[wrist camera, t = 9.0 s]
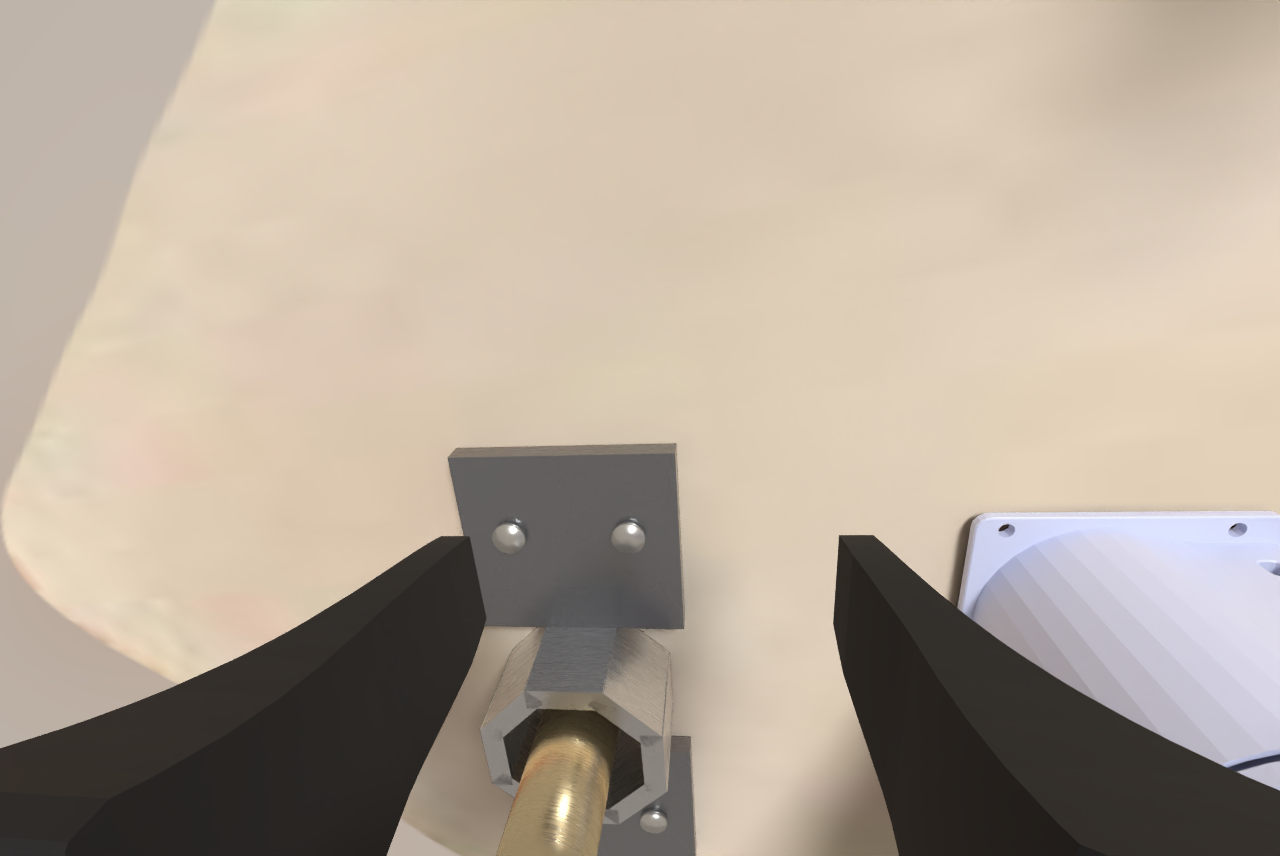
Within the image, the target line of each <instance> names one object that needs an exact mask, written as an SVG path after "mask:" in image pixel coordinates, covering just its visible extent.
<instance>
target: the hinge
mask: <svg viewBox="0 0 1280 856" xmlns="http://www.w3.org/2000/svg"><path fill="white" fill-rule="evenodd" d="M448 462H449V467H450V472H451V477H452V481H453V486H454V491H455V496H456V500H457V505H458V510H459V515H460V519H461V524H462V529H463V534H464V536H470V540H471V545H472V550H473V555H474V560H475V565H476V569H477V574H478V579H479V584H480V589H481V594H482V599H483V604H484V608H485V613H486V618H487V619H486V622H485V625H484V626H524V627H537V628H536V629H535V630H534V631H533V632H531V633H530V634H529V635H528V636H527V637H526V638H525V639H524V640H523V641H522V642H521V643H520V644H519V645H518V646H516V647H515V648H514V649H513V650H512V652H511V655H510V657H509V660H508V662H507V665H506V667H505V669H504V672H503V674H502V677H501V679H500V682H499V684H498V686H497V689H496V691H495V694H494V696H493V699H492V701H491V704H490V706H489V708H488V711H487V713H486V716H485V718H484V721H483V723H482V725H481V728H480V732H481V737H482V741H483V745H484V750H485V754H486V758H487V763H488V767H489V771H490V776H491V780H492V784H494V785H496V786H497V787H499V788H500V789H502V790H503V791H505V792H506V793H508V794H509V795H511V796H512V797H514V798H515V796H516V793H517V790H518V787H519V784H520V781H521V777H522V774H523V771H524V768H525V765H526V762H527V759H528V756H529V753H530V750H531V747H532V744H533V741H534V738H535V734H536V731H537V728H538V725H539V722H540V719H541V716H542V713H543V710H544V709H563V710H593V711H597V712H598V713H600V714H601V715H602V716H604V717H605V718H606V719H608V720H609V721H611V722H612V723H613V724H615V725H616V726H618V727H619V733H618V739H617V745H616V750H615V756H614V762H613V768H612V773H611V779H610V785H609V790H608V796H607V802H606V807H605V813H604V819H603V824H602V830H601V836H600V841H599V847H598V853H597V856H696V832H695V812H694V792H693V772H692V752H691V737H679V736H671V729H672V713H673V701H672V685H671V670H670V653H669V652H667V651H666V650H665V649H664V648H662V647H661V646H660V645H658V644H657V643H656V642H654V641H653V640H652V639H651V638H649V637H648V636H647V635H645V634H644V633H643V632H641V631H640V630H639V629H637V628H648V629H684V620H685V610H684V590H683V570H682V550H681V530H680V509H679V489H678V469H677V449H676V444H634V445H586V446H539V447H491V448H456V449H455V450H454V451H453V452H452V453H451V454H450V456H449V457H448Z"/></svg>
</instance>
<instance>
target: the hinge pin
mask: <svg viewBox="0 0 1280 856" xmlns="http://www.w3.org/2000/svg"><path fill="white" fill-rule="evenodd" d="M618 733H619V727H618V726H616V725H615V724H613V723H612V722H611V721H609V720H608V719H606V718H605V717H604V716H602V715H601V714H600V713H598V712H597V711H593V710H563V709H544V710H543V713H542V716H541V719H540V722H539V725H538V728H537V731H536V734H535V738H534V741H533V744H532V747H531V750H530V753H529V756H528V759H527V762H526V765H525V768H524V771H523V774H522V777H521V781H520V784H519V787H518V790H517V793H516V796H515V799H514V802H513V805H512V808H511V811H510V814H509V817H508V820H507V824H506V827H505V830H504V833H503V836H502V839H501V842H500V845H499V848H498V851H497V854H496V856H597V853H598V847H599V841H600V836H601V830H602V824H603V819H604V813H605V807H606V802H607V796H608V790H609V785H610V779H611V773H612V768H613V762H614V756H615V750H616V745H617V739H618Z"/></svg>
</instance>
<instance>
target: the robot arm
mask: <svg viewBox="0 0 1280 856" xmlns="http://www.w3.org/2000/svg"><path fill="white" fill-rule="evenodd" d="M1005 524H1010V525H1009V527H1008V528H1007V529H1006V530H1004V531H998V530H999V528H1000V527H1001V526H1003V525H1005ZM1234 524H1236V526H1235V527H1234V528H1232V529H1231V530H1229V529H1230V527H1231V526H1233V525H1234ZM486 619H487V618H486V613H485V608H484V604H483V599H482V594H481V589H480V584H479V579H478V574H477V569H476V565H475V560H474V555H473V550H472V545H471V540H470V536H441V537H439V538H437V539H435V540H433V541H432V542H430V543H428V544H427V545H425V546H423V547H422V548H420V549H419V550H417V551H415V552H414V553H412V554H411V555H409V556H408V557H406V558H405V559H403V560H402V561H400V562H399V563H397V564H396V565H394V566H393V567H391V568H390V569H388V570H387V571H385V572H384V573H382V574H381V575H379V576H378V577H376V578H375V579H373V580H372V581H370V582H369V583H367V584H365V585H364V586H362V587H361V588H359V589H358V590H356V591H355V592H353V593H352V594H350V595H348V596H347V597H345V598H343V599H342V600H340V601H339V602H337V603H335V604H334V605H332V606H330V607H329V608H327V609H325V610H324V611H322V612H321V613H319V614H317V615H316V616H314V617H312V618H311V619H309V620H308V621H306V622H304V623H302V624H301V625H299V626H297V627H295V628H294V629H292V630H290V631H288V632H286V633H285V634H283V635H281V636H279V637H277V638H275V639H274V640H272V641H270V642H268V643H266V644H264V645H262V646H260V647H258V648H256V649H254V650H252V651H250V652H248V653H246V654H244V655H242V656H240V657H238V658H236V659H234V660H232V661H230V662H228V663H225V664H223V665H221V666H219V667H217V668H214V669H212V670H210V671H208V672H205V673H203V674H201V675H199V676H196V677H194V678H192V679H190V680H188V681H185V682H183V683H181V684H179V685H176V686H174V687H172V688H170V689H167V690H165V691H162V692H160V693H157V694H155V695H152V696H150V697H148V698H145V699H142V700H140V701H137V702H135V703H132V704H130V705H127V706H124V707H122V708H119V709H116V710H113V711H111V712H108V713H105V714H103V715H100V716H97V717H94V718H92V719H89V720H86V721H84V722H81V723H77V724H75V725H72V726H69V727H66V728H63V729H60V730H57V731H53V732H50V733H48V734H44V735H41V736H38V737H35V738H32V739H28V740H25V741H22V742H19V743H16V744H13V745H10V746H7V747H3V748H0V856H386V855H387V853H388V850H389V847H390V845H391V842H392V839H393V837H394V834H395V831H396V828H397V826H398V823H399V821H400V818H401V815H402V813H403V810H404V807H405V805H406V802H407V799H408V797H409V794H410V792H411V790H412V788H413V785H414V783H415V781H416V779H417V776H418V774H419V772H420V770H421V768H422V766H423V763H424V761H425V759H426V757H427V755H428V753H429V751H430V749H431V747H432V745H433V743H434V741H435V739H436V737H437V735H438V733H439V731H440V729H441V727H442V725H443V723H444V721H445V719H446V717H447V715H448V713H449V711H450V708H451V706H452V704H453V702H454V700H455V698H456V696H457V694H458V692H459V690H460V688H461V686H462V684H463V682H464V679H465V677H466V675H467V673H468V671H469V669H470V667H471V664H472V662H473V659H474V656H475V653H476V650H477V647H478V644H479V641H480V638H481V635H482V632H483V628H484V625H485V622H486ZM833 624H834V630H835V635H836V640H837V645H838V650H839V655H840V660H841V665H842V670H843V674H844V677H845V680H846V683H847V686H848V690H849V693H850V696H851V699H852V702H853V705H854V708H855V711H856V714H857V717H858V720H859V723H860V726H861V729H862V732H863V735H864V738H865V741H866V744H867V746H868V749H869V752H870V755H871V758H872V761H873V764H874V767H875V770H876V773H877V776H878V779H879V782H880V785H881V788H882V791H883V794H884V798H885V801H886V805H887V808H888V812H889V815H890V818H891V822H892V826H893V831H894V835H895V839H896V843H897V848H898V852H899V856H1280V515H1279V514H1277V513H1276V512H1273V511H1167V512H1019V513H984V514H981V515H979V516H977V517H976V518H975V519H974V520H973V521H972V524H971V528H970V534H969V540H968V546H967V552H966V558H965V564H964V570H963V576H962V583H961V589H960V595H959V601H958V607H955V606H954V605H953V604H952V603H950V602H949V601H948V600H947V599H945V598H944V597H943V596H942V595H941V594H939V593H938V592H937V591H936V590H935V589H933V588H932V587H931V586H930V585H929V584H928V583H926V582H925V581H924V580H923V579H922V578H921V577H920V576H918V575H917V574H916V573H915V572H914V571H913V570H912V569H911V568H909V567H908V566H907V565H906V564H905V563H904V562H903V561H902V560H900V559H899V558H898V557H897V556H896V555H895V554H894V553H893V552H892V551H891V550H889V549H888V548H887V547H886V546H885V545H884V544H883V543H882V542H881V541H879V540H878V539H877V538H876V537H875V536H874V535H839V547H838V562H837V576H836V591H835V606H834V621H833Z"/></svg>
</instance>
